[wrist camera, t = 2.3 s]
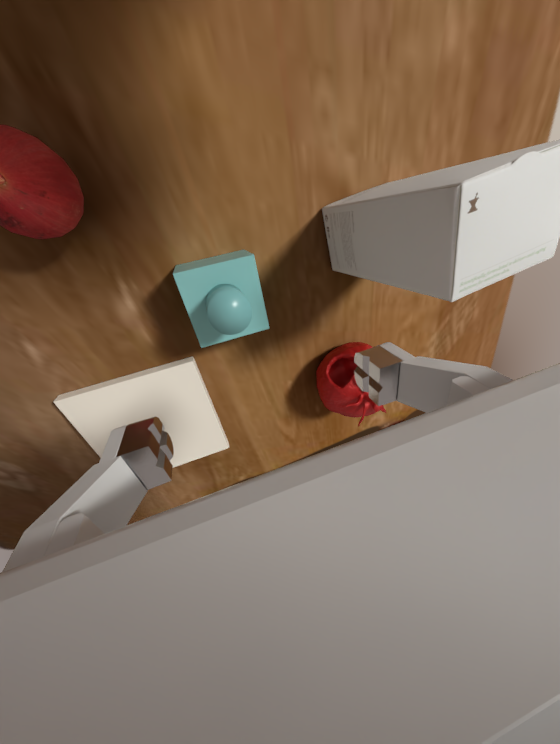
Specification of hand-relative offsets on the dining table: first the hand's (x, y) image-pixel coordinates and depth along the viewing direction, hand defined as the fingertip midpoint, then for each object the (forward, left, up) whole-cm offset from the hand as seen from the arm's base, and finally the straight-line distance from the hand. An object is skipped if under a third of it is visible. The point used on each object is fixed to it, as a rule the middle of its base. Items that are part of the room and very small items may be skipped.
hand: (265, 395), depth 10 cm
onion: (+10, -10, -19) cm, 24 cm away
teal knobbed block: (0, 0, -19) cm, 19 cm away
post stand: (+12, +13, -19) cm, 26 cm away
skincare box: (-16, -3, -19) cm, 25 cm away
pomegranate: (-13, +14, -19) cm, 27 cm away
